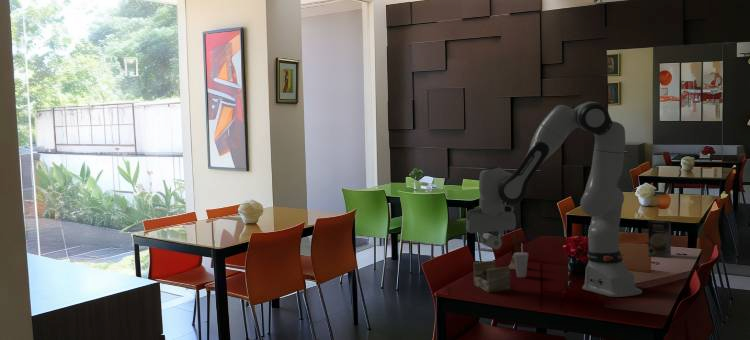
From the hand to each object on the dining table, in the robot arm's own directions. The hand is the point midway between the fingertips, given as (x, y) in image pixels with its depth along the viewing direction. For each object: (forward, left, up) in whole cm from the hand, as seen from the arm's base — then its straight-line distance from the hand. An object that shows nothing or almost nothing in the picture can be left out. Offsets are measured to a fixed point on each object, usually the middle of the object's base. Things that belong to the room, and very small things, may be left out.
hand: (491, 242), depth 259 cm
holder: (0, 0, -18) cm, 18 cm away
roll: (0, 0, +1) cm, 1 cm away
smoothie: (+11, -19, -18) cm, 28 cm away
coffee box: (+19, -94, -18) cm, 97 cm away
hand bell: (+26, -25, -18) cm, 40 cm away
